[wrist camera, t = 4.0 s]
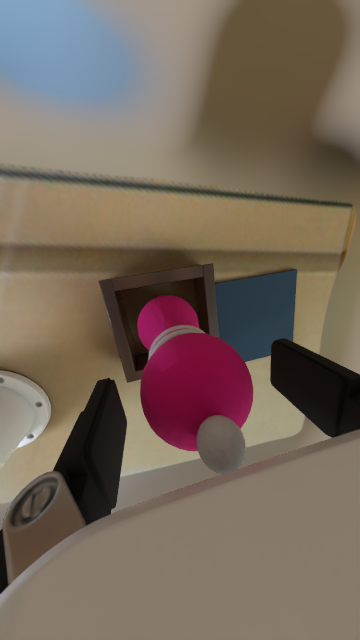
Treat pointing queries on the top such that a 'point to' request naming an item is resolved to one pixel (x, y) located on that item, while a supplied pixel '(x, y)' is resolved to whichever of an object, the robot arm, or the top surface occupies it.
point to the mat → (256, 312)
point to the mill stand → (113, 287)
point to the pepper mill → (193, 385)
